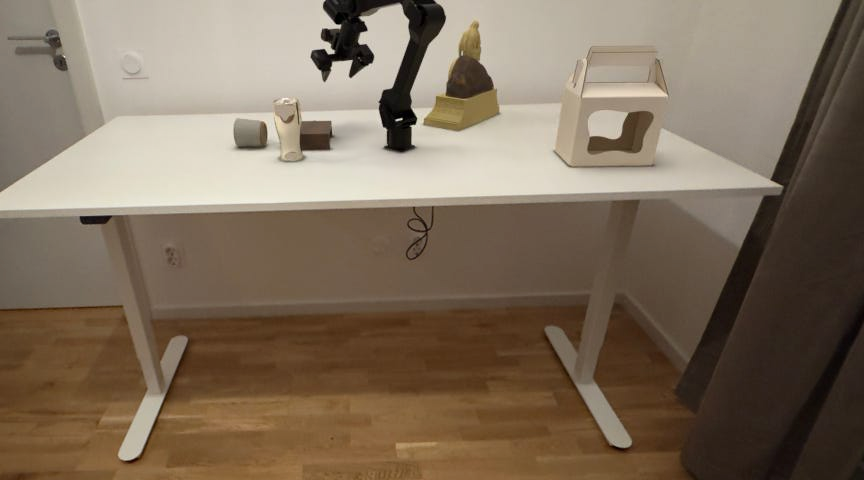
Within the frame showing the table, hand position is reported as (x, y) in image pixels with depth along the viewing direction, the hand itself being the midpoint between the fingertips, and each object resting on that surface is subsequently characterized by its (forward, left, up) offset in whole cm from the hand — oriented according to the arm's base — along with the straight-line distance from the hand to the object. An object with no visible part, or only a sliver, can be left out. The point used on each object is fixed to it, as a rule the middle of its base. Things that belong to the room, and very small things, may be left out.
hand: (337, 79), depth 163 cm
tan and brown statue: (-25, -34, -15) cm, 44 cm away
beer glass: (-12, +30, -15) cm, 36 cm away
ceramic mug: (+6, +29, -15) cm, 33 cm away
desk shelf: (-6, +17, -15) cm, 23 cm away
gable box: (-77, -22, -15) cm, 81 cm away
